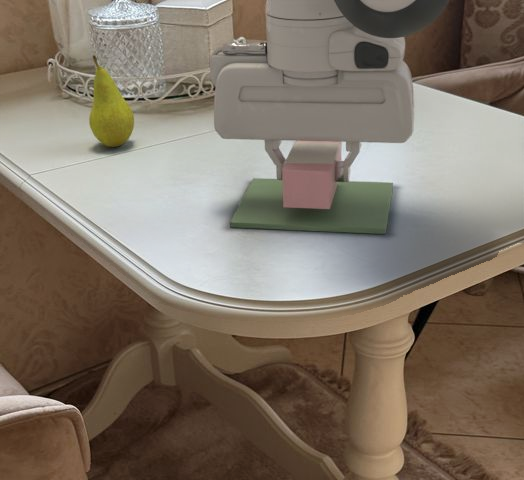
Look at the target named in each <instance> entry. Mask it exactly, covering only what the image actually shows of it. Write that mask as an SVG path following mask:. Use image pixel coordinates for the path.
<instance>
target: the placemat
mask: <svg viewBox="0 0 524 480" xmlns="http://www.w3.org/2000/svg"><path fill="white" fill-rule="evenodd" d="M393 189H394V182H389V181H388V182H384V181H383V182H382V181H353V180H351V181H350V180H349V182H338V184H337V188H336V191H335V194H334V198H333V201H332V204H331V207H330V209H314V208H288V207H283V180H277V178H261V177H253V179H252V180H251V182H250V184H249V186H248V188H247V189H246V191H245V193H244V195H243V197H242V199H241V201H240V203H239V205H238V206H237V208H236V210H235V212H234V214H233V216H232V218H231V219H230V221H229V227H230V228H235V229H237V228H240V229H262V230H281V231H282V230H285V231H303V232H305V231H309V232H328V233H329V232H331V233H350V234H351V233H352V234H353V233H355V234H373V235H374V234H377V235H385V234H386V233H387V226H388V220H389V216H390V215H389V214H390V209H391V201H392V196H393Z"/></svg>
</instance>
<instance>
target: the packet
mask: <svg viewBox="0 0 524 480" xmlns="http://www.w3.org/2000/svg"><path fill="white" fill-rule="evenodd" d="M342 143H343V142H334V141H294V142H293V144H292V146H291V149H290V150H289V153H288V155H287V157H286V158H285V159H286V161H285V166H284V168H283V170H282V180H283V207H288V208H314V209H330V207H331V204H332V201H333V198H334V194H335V191H336V188H337V184H338V182H335V175H336V174H335V166H336V163H337V161H342V150H343V149H342V148H343V147H342Z"/></svg>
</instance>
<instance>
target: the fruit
mask: <svg viewBox="0 0 524 480" xmlns="http://www.w3.org/2000/svg"><path fill="white" fill-rule="evenodd" d="M92 59H93V62H94V65H95V66H96V69H95V73H94V79H93V99H92V100H93V104H92V106H91V109H90V113H89V116H88V117H89V119H88V122H89V127H90V130H91V132H92V134H93V136H94V137H95V138H96V139H97V140H98V142H99V143H100V144H102V145H104V146H105V147H107V148H108V147H109V148H110V147H111V148H115V147H120V146H123V145H124V144H125V143H126V142H128V140H129V139H130V137H131V136H132V134H133V131H134V127H135V115H134V113H133V110H132V108H131V106H130V105H129V103H128V102H127V100H125V98H124V96H123V95H122V94H121V92H120V89H119V88H118V86H117V84H116V82H115V81H114V79H113V78H112V76H111V74H110V73H109V72H108V71H107V70H106V69H105V68H104V67H102V66H100V65H99V64H98V58H97V55H92Z"/></svg>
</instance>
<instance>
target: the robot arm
mask: <svg viewBox="0 0 524 480" xmlns="http://www.w3.org/2000/svg"><path fill="white" fill-rule="evenodd" d="M449 3H450V0H266V2H265V27H266V29H265V31H266V32H265V33H266V42H264V41H261V42H245V43H237V42H225V43H223V44H222V45H221V46H220V47H217V48H216V49H214V50H213V52H212V53H211V54H210V57H209V75H210V79H211V82H212V84H213V85H214V86H215V90H214V102H213V126H214V127H213V128H214V131H215V132H216V133H217V134H218V135H219V136H220V138H221V139H224V140H250V141H251V140H253V141H257V140H258V141H264V151H265V152H266V154H267V155H268V156H269V158H270V160H271V161H272V163H273V165H275V168H276V169H275V170H276V179H277V180H282V170H283V168H284V166H285V161H286V159H287V158H286V157H285V156H284V154H283V153H282V151H281V149H280V145H281V144H282V142H283V141H290V142H291V141H294V142H296V141H334V142H342V143H345V151H346V152H347V153H348V154H347V155H346V157H345V158H344V160H341V161H337V163H336V166H335V174H336V175H335V182H349V181H350V179H351V166H352V165H353V163H354V161H355V160H356V158H357V157H358V156H359V154H360V152H361V149H362V143H378V144H379V143H382V144H404V143H406V142H407V141H408V140H409V139H410V138H411V137H412V136H413V134H414V130H415V94H414V84H413V76H412V73H411V72H412V71H411V70H410V67H409V66H408V64H407V63H406V62H405V61H404V58H405V53H406V39H405V37H408V36H411V35H415V34H417V33H418V32H421V31H422V30H424V29H426V28H427V27H428V26H430V25H431V24H432V23H433V22H434V21H435V20H437V19H438V18H439V16H440V15H441V14H442V13H443V12H444V10H445V9H446V7H447V6H448V4H449Z"/></svg>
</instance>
